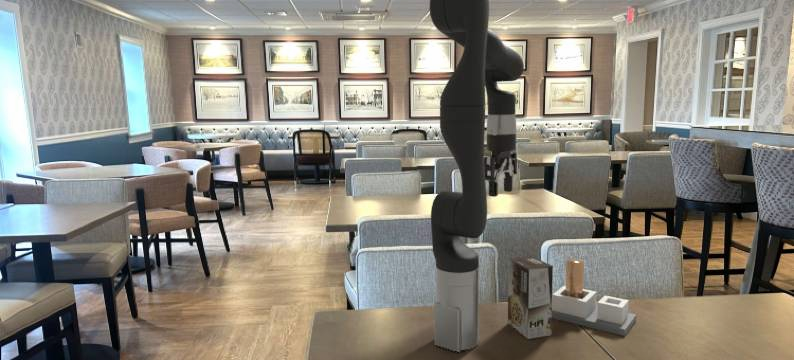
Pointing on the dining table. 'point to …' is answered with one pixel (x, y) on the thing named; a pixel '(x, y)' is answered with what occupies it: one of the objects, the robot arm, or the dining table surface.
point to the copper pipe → (574, 278)
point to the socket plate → (593, 311)
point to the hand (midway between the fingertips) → (500, 193)
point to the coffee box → (530, 296)
